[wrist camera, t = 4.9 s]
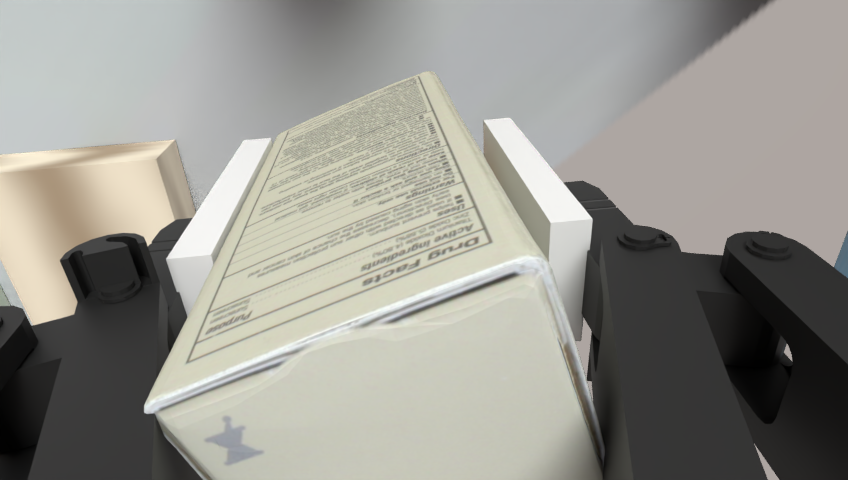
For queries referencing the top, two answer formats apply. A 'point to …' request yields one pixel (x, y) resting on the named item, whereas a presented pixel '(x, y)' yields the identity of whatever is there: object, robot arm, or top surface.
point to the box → (379, 317)
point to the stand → (81, 211)
